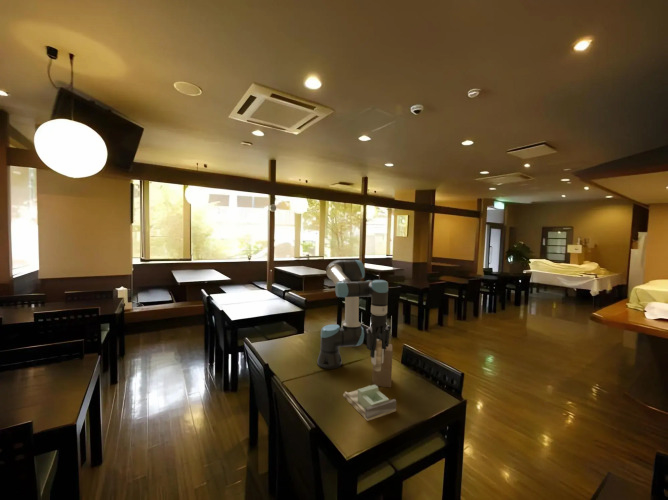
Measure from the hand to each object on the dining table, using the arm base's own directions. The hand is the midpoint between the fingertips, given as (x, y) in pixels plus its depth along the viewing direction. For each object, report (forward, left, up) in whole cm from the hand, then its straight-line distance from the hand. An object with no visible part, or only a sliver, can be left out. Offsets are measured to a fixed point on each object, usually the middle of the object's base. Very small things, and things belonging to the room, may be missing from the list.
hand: (377, 362), depth 131 cm
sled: (+1, -2, -20) cm, 20 cm away
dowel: (0, 0, -3) cm, 3 cm away
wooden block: (-16, +16, -21) cm, 31 cm away
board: (-3, -2, -21) cm, 21 cm away
